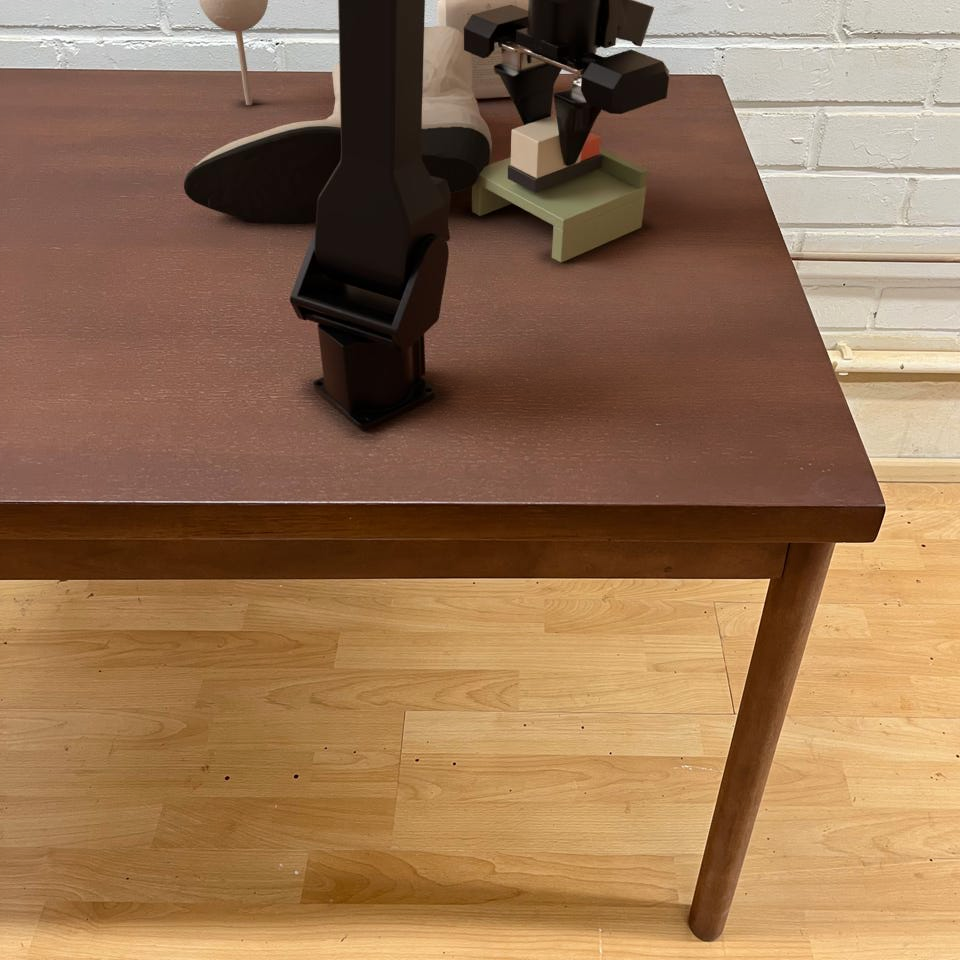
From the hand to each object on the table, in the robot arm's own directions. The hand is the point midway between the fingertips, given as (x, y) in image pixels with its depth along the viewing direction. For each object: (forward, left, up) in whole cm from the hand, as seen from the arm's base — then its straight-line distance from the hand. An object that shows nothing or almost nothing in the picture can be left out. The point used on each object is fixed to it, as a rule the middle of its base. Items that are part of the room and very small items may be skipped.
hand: (555, 157), depth 87 cm
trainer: (0, 0, -2) cm, 2 cm away
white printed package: (+15, +27, -6) cm, 31 cm away
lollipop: (-7, +41, -6) cm, 42 cm away
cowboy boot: (-7, +21, -5) cm, 23 cm away
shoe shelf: (+1, 0, -6) cm, 6 cm away
